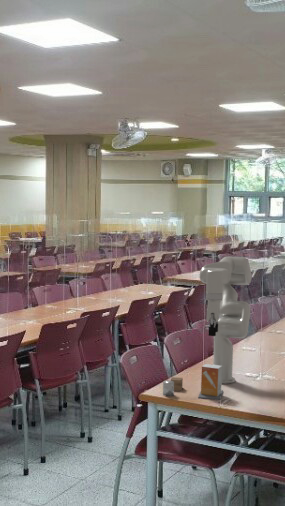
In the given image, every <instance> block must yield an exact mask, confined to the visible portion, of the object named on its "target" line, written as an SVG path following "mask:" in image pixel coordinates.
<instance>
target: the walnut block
mask: <svg viewBox="0 0 285 506" xmlns="http://www.w3.org/2000/svg"><path fill="white" fill-rule="evenodd" d="M170 381H174V391H182V389H183V377H178V376H171V378H170Z"/></svg>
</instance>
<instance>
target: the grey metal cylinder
mask: <svg viewBox="0 0 285 506" xmlns="http://www.w3.org/2000/svg"><path fill="white" fill-rule="evenodd" d="M162 395H163V396H164V395H166V396H165V397H172V396H175V390H174V381H171V380H170V379H169V380H163V381H162Z"/></svg>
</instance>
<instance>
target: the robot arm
mask: <svg viewBox="0 0 285 506" xmlns="http://www.w3.org/2000/svg"><path fill="white" fill-rule="evenodd" d="M252 276H253V275H252V271H251V266H250V263H249V261H248V259H247V258H246V257H244V256H225V257H222V259H221V260H219V261H217V262H212V263H208V264H205V265H204V266H203V267H201V269H200V271H199V280H200V282H201V283H203V284H206V285H205V286H206V287H205V290H206V291H205V300H206V301H207V308H206V322H207V323H208V336H210V337H213V364H212V365H219V366H222V384H233V383H235V382H236V378H235V377H233V363H234V362H233V359H234V358H233V357H234V346H233V343H232V341H231V340H230V339H231V338H232V339H245V338H246V337H247V336H248V331H249V325H250V317H251V306H250V304H249V303H248V302H247V301H241V300H238V298H239V294H238V292H237V291H236V289H235V288H234V287H233V285H234V286H235V285H236V286H248V285H250V284H251V282H252ZM222 384H221V385H222Z"/></svg>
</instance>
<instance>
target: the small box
mask: <svg viewBox="0 0 285 506" xmlns="http://www.w3.org/2000/svg"><path fill="white" fill-rule="evenodd" d="M200 376H201V378H200V379H201V382H200V383H201V384H200V385H201V386H200V392H201V394H205V395H212V396H218V395H220V394H221V390H222V366H219V365H213V364H209V363H205V364H203V365H202V366H201V375H200Z"/></svg>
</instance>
